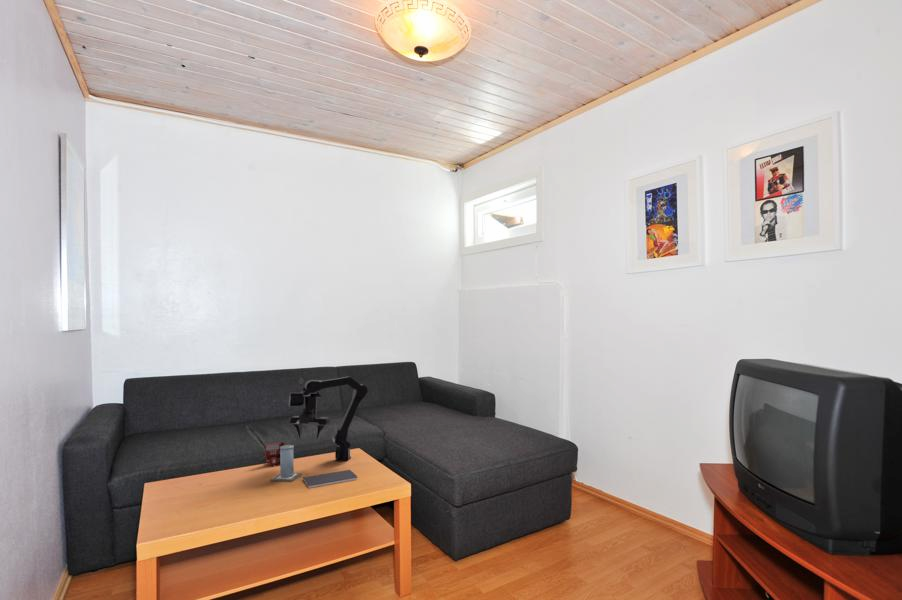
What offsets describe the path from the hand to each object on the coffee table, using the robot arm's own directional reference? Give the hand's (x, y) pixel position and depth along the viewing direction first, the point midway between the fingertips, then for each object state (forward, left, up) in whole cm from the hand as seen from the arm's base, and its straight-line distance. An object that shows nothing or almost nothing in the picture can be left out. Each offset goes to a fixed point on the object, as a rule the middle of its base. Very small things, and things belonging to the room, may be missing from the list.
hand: (309, 437), depth 229 cm
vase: (+2, +20, -12) cm, 23 cm away
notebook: (-19, +22, -14) cm, 32 cm away
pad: (+2, +20, -13) cm, 24 cm away
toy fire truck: (+17, -1, -13) cm, 21 cm away
